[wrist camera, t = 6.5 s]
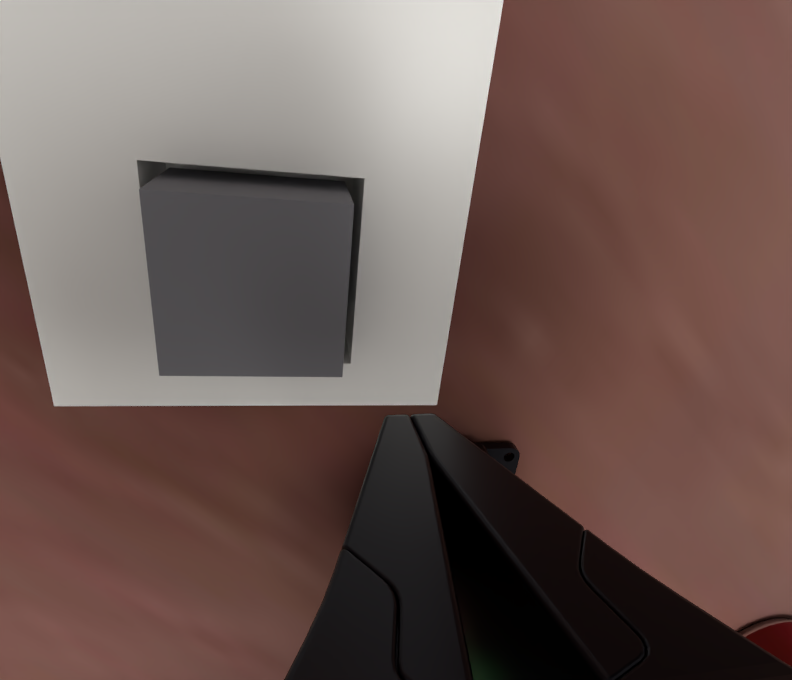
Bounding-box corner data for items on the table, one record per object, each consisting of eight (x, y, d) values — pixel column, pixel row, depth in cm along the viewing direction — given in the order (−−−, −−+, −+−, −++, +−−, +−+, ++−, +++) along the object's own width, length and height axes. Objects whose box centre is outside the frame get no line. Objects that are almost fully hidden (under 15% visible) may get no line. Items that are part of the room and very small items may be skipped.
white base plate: (417, 356, 21) (436, 404, 18) (94, 352, 19) (54, 406, 16) (537, -516, 12) (623, -730, 8) (-90, -740, 9) (-284, -1146, 6)
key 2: (335, 329, 18) (342, 377, 15) (182, 325, 17) (159, 375, 14) (344, 181, 16) (354, 204, 13) (169, 167, 15) (138, 189, 12)
